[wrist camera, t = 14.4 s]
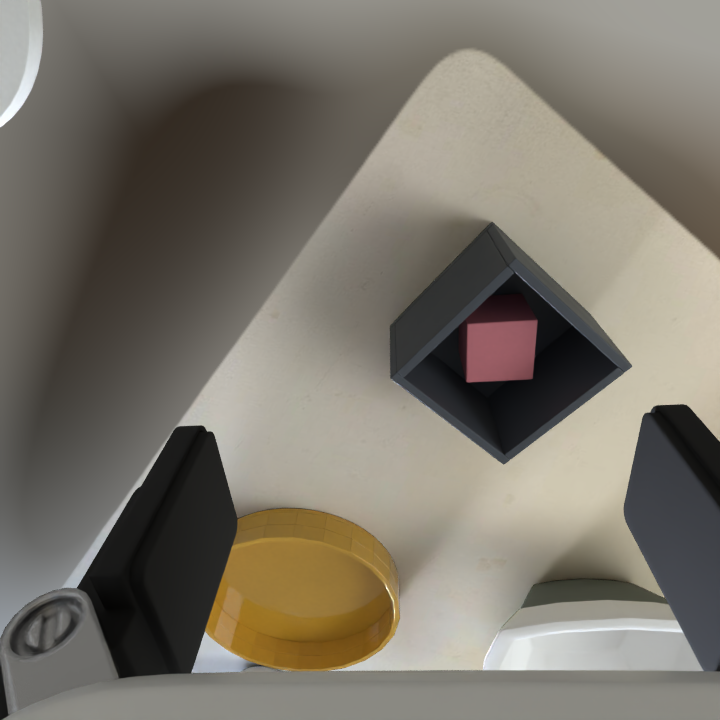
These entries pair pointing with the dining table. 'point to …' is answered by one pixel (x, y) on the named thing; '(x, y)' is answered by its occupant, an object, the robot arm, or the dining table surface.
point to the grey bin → (513, 397)
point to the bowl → (591, 630)
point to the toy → (499, 340)
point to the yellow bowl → (305, 592)
